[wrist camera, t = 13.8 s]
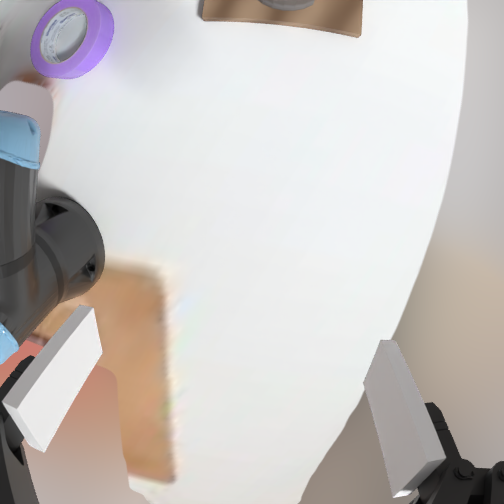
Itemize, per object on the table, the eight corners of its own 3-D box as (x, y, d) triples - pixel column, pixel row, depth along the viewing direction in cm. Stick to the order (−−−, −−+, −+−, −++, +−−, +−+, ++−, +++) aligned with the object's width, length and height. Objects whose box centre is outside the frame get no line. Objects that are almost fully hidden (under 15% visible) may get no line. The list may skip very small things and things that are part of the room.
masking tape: (53, 93, 33) (37, 93, 30) (40, 29, 29) (25, 25, 26) (123, 54, 32) (109, 48, 28) (106, -12, 27) (93, -21, 24)
